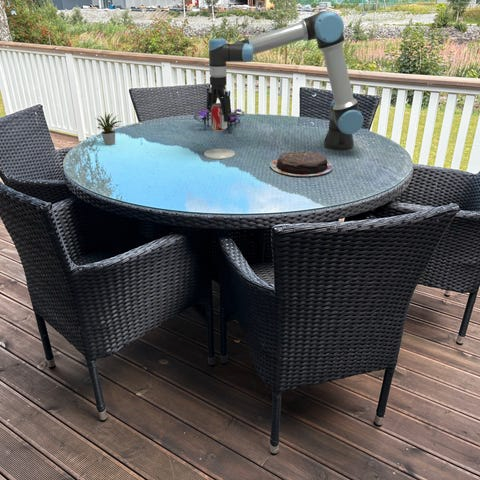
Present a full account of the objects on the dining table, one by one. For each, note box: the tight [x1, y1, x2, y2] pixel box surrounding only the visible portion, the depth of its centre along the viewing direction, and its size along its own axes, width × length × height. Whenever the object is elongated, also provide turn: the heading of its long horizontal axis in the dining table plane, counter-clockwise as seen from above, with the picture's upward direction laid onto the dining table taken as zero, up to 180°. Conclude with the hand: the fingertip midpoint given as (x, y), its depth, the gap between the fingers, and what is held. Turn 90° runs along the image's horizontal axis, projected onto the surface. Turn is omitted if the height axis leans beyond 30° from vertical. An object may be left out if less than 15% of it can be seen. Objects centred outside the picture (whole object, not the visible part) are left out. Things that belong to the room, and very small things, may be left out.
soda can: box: [210, 102, 227, 132], centre depth 215 cm, size 7×7×12 cm
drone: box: [193, 108, 245, 135], centre depth 266 cm, size 40×10×28 cm
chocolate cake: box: [269, 150, 333, 178], centre depth 205 cm, size 28×28×7 cm
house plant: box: [95, 112, 122, 146], centre depth 235 cm, size 14×14×16 cm
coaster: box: [204, 148, 236, 160], centre depth 223 cm, size 15×15×1 cm
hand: (218, 126), depth 217 cm, fingers closed on soda can, 7 cm apart
